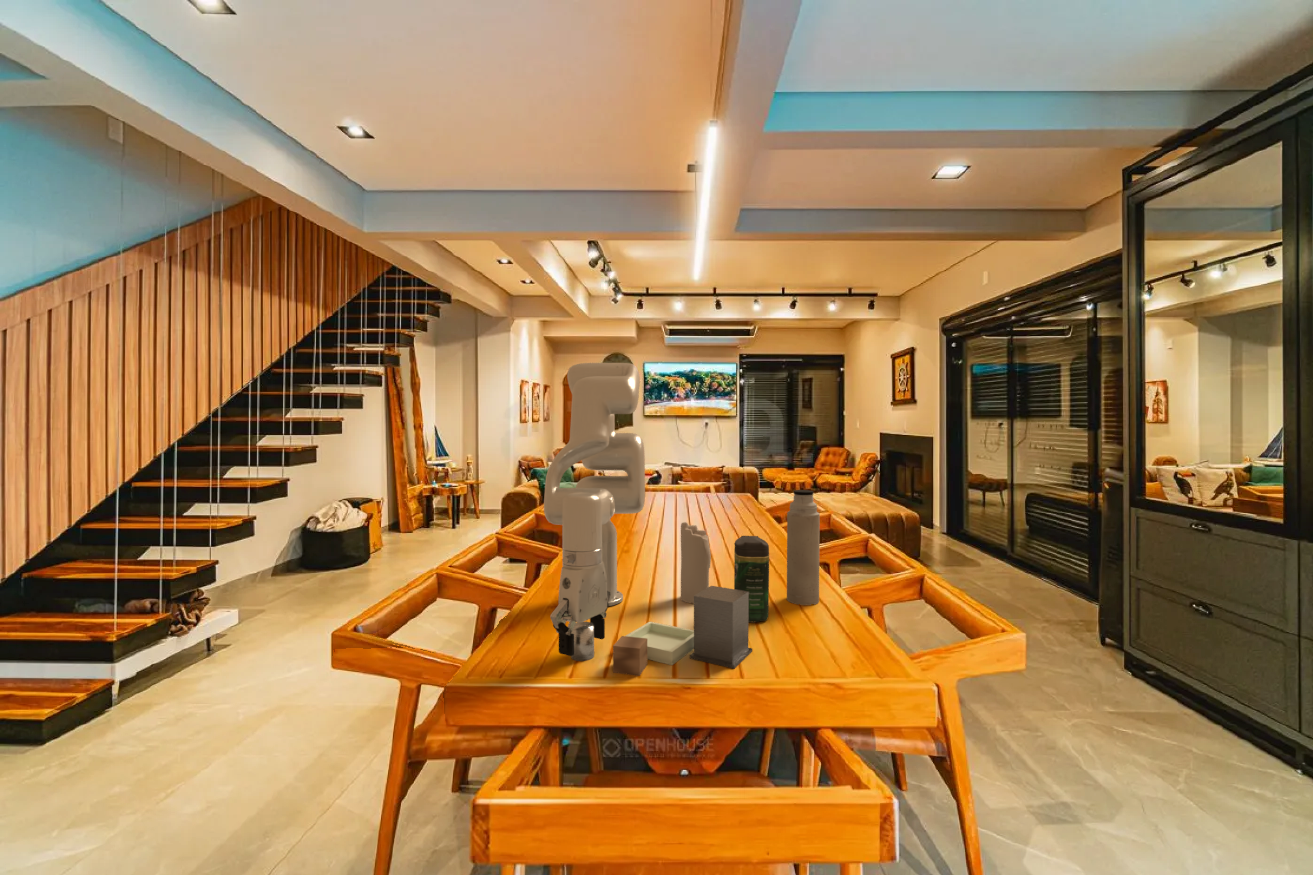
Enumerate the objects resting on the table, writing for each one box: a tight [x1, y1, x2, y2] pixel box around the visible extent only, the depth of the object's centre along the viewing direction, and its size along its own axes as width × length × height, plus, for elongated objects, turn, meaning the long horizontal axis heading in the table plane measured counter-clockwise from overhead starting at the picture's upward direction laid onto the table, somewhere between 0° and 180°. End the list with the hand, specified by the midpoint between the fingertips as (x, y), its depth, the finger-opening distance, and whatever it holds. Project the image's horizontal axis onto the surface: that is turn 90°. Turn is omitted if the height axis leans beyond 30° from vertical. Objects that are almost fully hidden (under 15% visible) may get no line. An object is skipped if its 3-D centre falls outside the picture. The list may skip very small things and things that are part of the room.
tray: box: [625, 621, 694, 666], centre depth 116 cm, size 12×12×2 cm
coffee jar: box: [733, 535, 770, 623], centre depth 134 cm, size 10×8×19 cm
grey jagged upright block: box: [680, 521, 712, 604], centre depth 146 cm, size 7×14×20 cm, turn 73°
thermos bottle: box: [786, 489, 821, 606], centre depth 146 cm, size 8×8×28 cm
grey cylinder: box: [570, 621, 595, 662], centre depth 112 cm, size 4×4×6 cm
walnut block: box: [612, 635, 648, 677], centre depth 106 cm, size 5×5×5 cm
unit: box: [689, 585, 753, 670], centre depth 112 cm, size 9×9×12 cm
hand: (582, 645), depth 111 cm, fingers open, 9 cm apart
